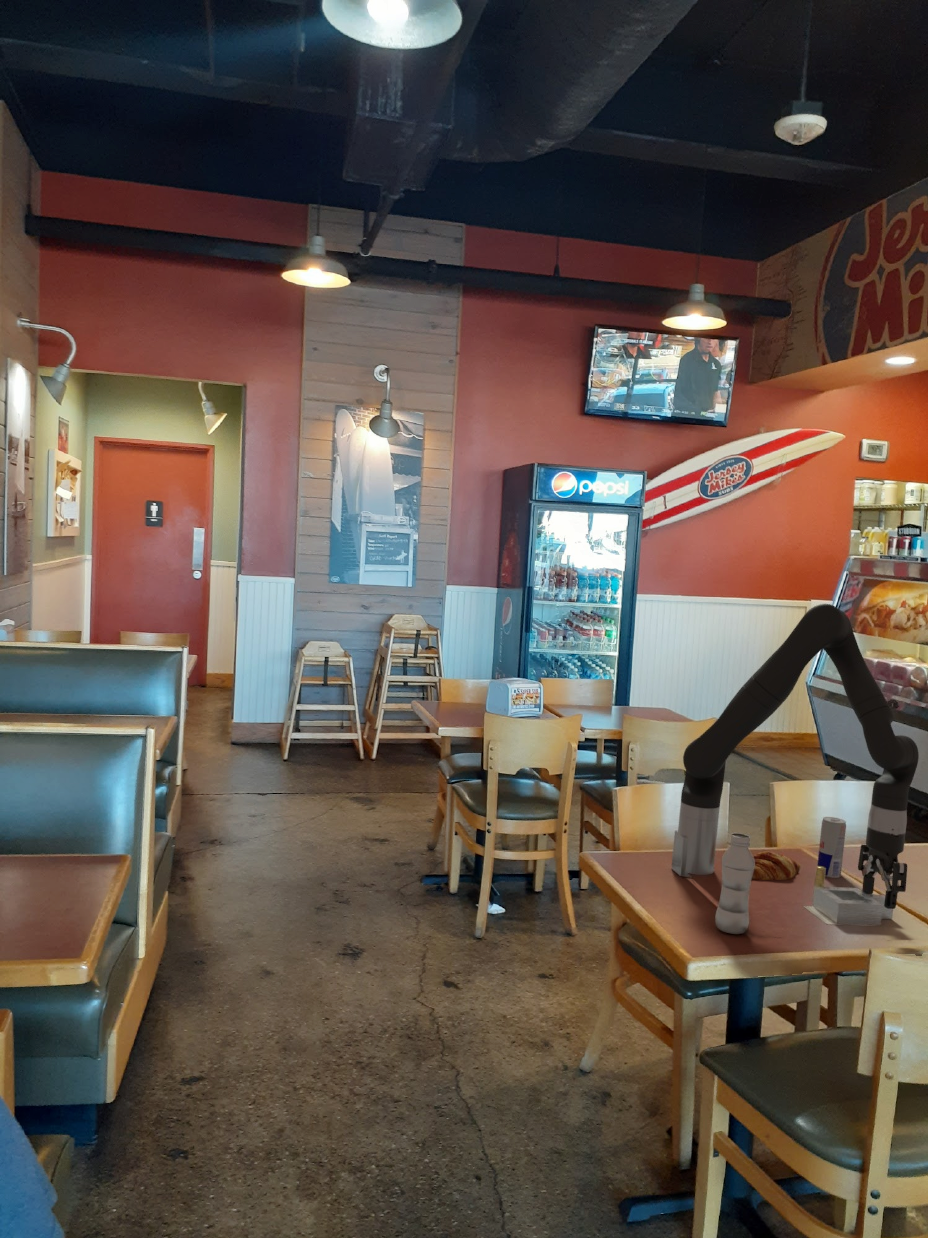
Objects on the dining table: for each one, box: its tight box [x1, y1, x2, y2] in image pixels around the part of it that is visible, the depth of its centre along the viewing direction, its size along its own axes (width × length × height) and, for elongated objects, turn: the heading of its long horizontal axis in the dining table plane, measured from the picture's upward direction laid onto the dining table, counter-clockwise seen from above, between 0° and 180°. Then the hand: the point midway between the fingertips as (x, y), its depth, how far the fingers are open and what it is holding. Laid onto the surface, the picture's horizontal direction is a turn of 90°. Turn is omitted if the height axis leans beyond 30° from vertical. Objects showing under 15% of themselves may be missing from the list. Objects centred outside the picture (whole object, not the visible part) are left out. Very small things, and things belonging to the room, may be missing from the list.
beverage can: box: [816, 816, 847, 879], centre depth 230 cm, size 6×6×15 cm
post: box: [812, 865, 826, 900], centre depth 208 cm, size 2×2×8 cm
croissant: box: [751, 851, 802, 881], centre depth 228 cm, size 21×10×8 cm, turn 126°
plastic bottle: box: [714, 832, 755, 935], centre depth 189 cm, size 6×7×20 cm
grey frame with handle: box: [812, 886, 894, 926], centre depth 201 cm, size 15×10×4 cm, turn 97°
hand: (878, 900), depth 202 cm, fingers open, 8 cm apart
